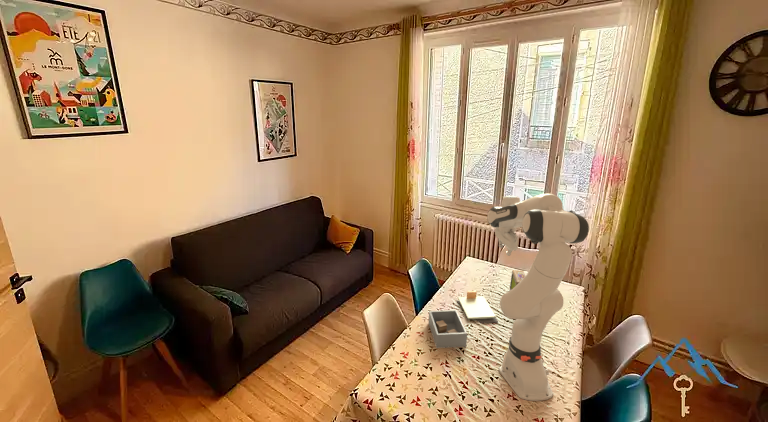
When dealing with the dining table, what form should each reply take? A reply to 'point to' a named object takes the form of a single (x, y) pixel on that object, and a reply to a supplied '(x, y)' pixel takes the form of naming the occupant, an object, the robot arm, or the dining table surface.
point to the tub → (452, 323)
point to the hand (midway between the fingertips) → (504, 251)
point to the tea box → (517, 277)
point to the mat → (488, 320)
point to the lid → (476, 306)
